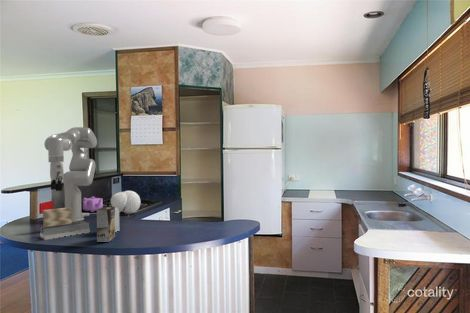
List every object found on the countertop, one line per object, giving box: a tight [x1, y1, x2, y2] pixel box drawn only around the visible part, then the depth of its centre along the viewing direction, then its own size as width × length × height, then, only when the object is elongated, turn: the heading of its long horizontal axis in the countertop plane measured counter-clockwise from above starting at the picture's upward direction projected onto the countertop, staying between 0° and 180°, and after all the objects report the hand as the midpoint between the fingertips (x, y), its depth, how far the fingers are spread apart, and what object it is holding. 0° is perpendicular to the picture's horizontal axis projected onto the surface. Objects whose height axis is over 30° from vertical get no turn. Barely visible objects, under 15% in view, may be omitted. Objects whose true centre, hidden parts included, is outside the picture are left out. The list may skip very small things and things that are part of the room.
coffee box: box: [96, 206, 116, 243], centre depth 165 cm, size 9×6×16 cm
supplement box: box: [115, 209, 121, 233], centre depth 182 cm, size 7×7×13 cm
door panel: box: [42, 207, 73, 227], centre depth 188 cm, size 14×3×12 cm, turn 133°
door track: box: [39, 220, 91, 241], centre depth 178 cm, size 22×9×5 cm, turn 133°
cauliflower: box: [110, 190, 141, 215], centre depth 234 cm, size 20×18×16 cm
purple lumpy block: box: [82, 196, 104, 213], centre depth 246 cm, size 15×13×11 cm
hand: (56, 190), depth 188 cm, fingers open, 9 cm apart
